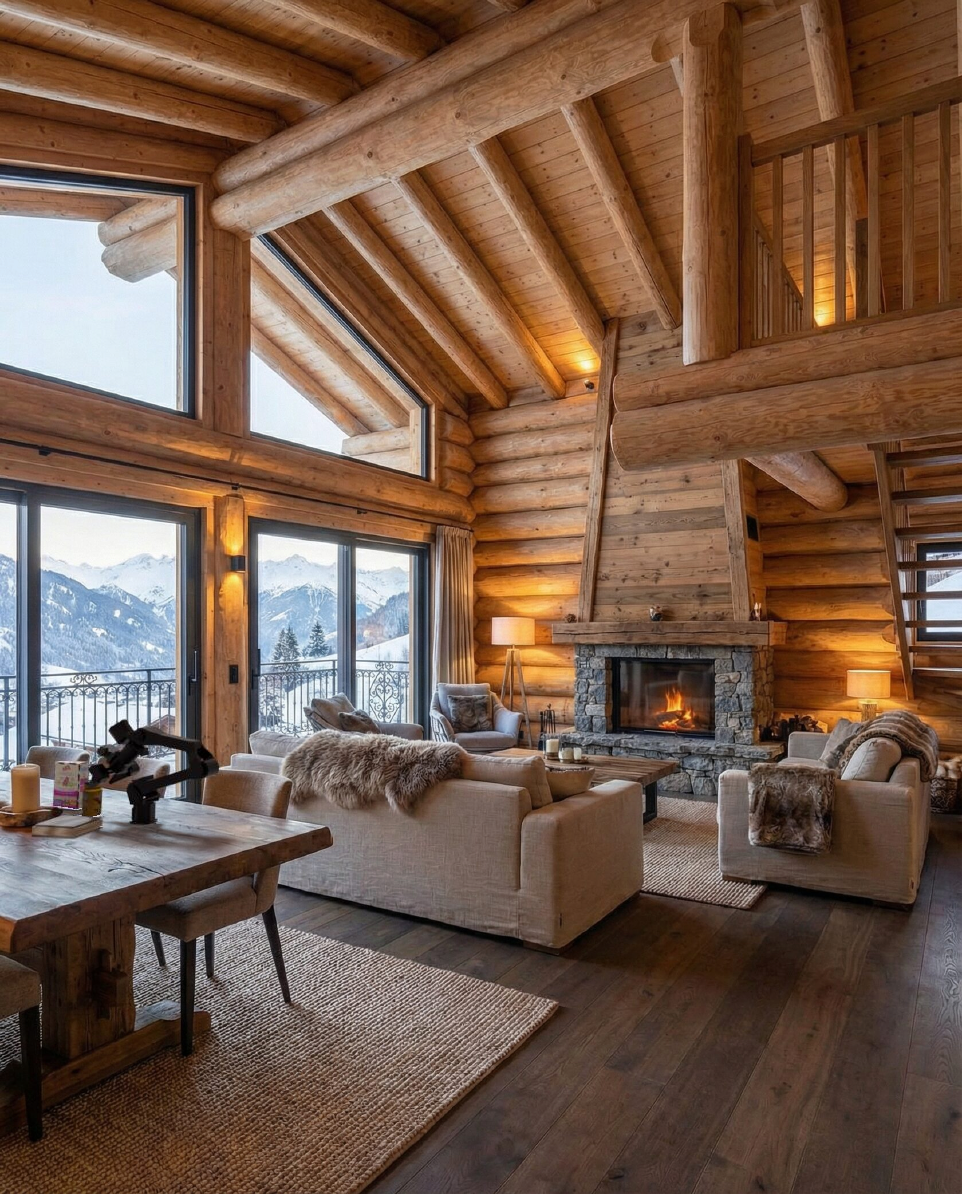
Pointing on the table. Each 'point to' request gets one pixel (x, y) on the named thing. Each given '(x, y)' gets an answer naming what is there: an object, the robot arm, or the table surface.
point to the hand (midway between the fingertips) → (99, 785)
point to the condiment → (91, 800)
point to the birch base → (67, 826)
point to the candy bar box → (69, 783)
